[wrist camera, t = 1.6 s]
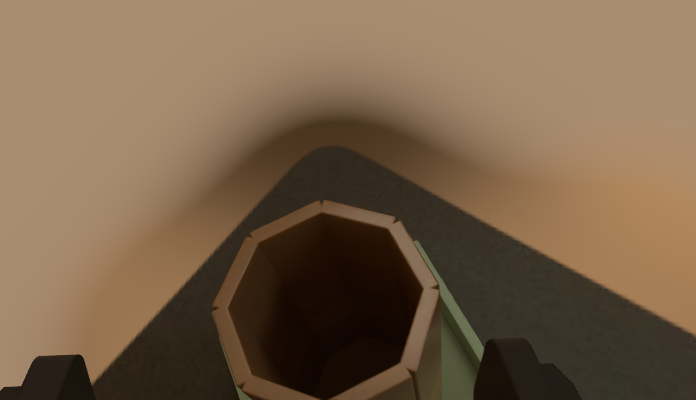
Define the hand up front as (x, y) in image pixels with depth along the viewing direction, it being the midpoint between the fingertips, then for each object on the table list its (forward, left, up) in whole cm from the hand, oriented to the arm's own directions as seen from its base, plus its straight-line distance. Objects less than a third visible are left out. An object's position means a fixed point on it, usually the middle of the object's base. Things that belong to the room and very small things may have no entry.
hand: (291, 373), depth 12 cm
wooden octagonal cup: (+1, -3, -17) cm, 17 cm away
